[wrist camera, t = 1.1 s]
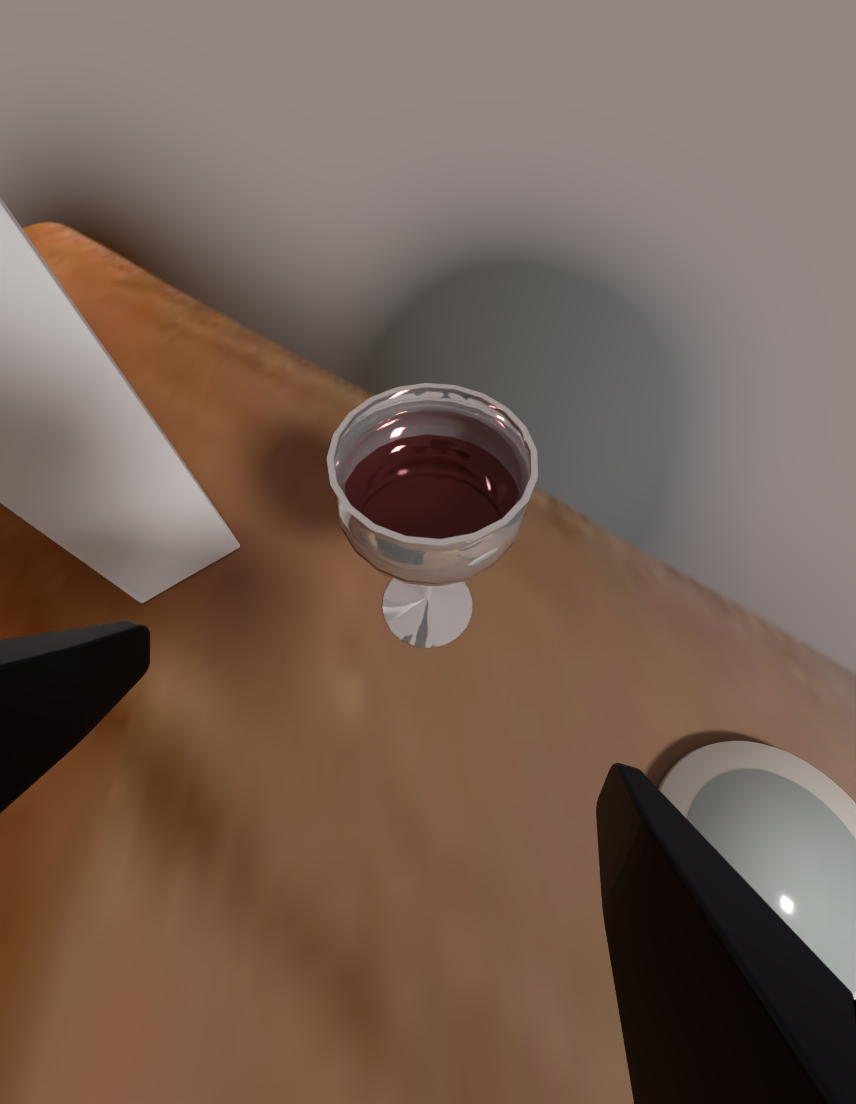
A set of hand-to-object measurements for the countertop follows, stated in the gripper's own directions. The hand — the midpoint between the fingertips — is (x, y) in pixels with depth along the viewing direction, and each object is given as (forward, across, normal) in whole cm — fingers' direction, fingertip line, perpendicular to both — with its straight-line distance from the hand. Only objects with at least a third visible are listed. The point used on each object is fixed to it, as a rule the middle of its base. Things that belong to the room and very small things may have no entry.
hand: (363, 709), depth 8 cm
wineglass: (+16, +1, +5) cm, 16 cm away
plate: (+10, -16, +10) cm, 21 cm away
